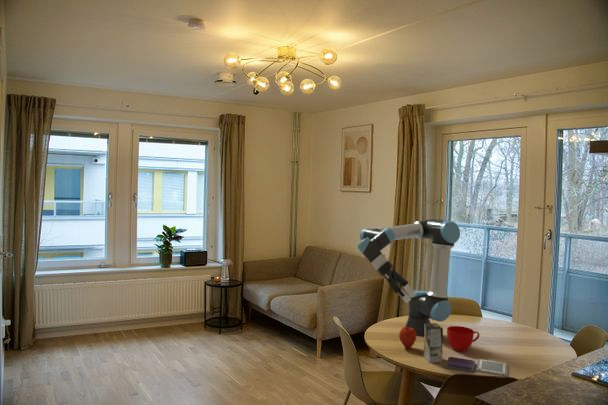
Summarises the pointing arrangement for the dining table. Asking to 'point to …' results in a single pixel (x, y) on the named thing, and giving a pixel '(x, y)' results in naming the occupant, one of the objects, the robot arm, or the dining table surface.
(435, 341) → the coffee box
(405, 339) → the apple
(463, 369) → the ink pad
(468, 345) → the ceramic cup
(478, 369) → the marked board
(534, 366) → the dining table surface
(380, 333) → the dining table surface
